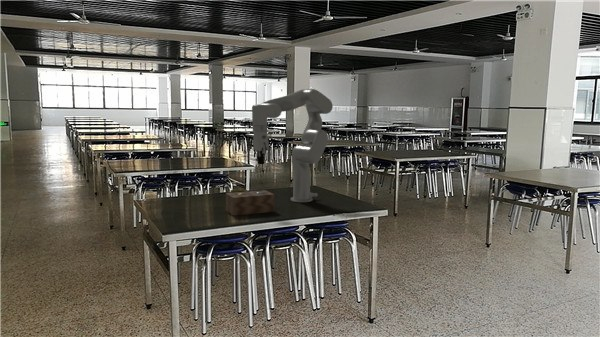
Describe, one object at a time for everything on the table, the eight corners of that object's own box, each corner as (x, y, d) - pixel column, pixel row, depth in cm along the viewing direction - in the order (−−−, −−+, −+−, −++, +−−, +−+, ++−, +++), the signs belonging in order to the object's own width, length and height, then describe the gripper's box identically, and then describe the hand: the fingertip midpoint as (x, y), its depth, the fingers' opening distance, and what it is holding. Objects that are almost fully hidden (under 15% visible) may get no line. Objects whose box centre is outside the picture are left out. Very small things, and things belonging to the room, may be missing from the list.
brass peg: (243, 208, 235) (243, 192, 234) (245, 209, 232) (245, 194, 231) (235, 208, 233) (235, 193, 232) (238, 210, 230) (238, 194, 229)
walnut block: (265, 206, 245) (265, 190, 244) (274, 211, 234) (274, 194, 233) (225, 210, 235) (225, 193, 234) (233, 215, 225) (232, 197, 224)
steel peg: (261, 206, 240) (261, 191, 238) (264, 208, 236) (264, 192, 235) (254, 207, 238) (254, 192, 237) (256, 208, 234) (256, 193, 233)
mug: (246, 203, 243) (242, 185, 245) (229, 208, 246) (225, 190, 247) (254, 203, 255) (250, 186, 257) (238, 207, 258) (234, 190, 259)
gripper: (272, 129, 229) (273, 165, 232) (261, 127, 242) (262, 161, 245) (258, 130, 226) (259, 166, 229) (247, 128, 239) (249, 162, 242)
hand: (261, 163), depth 237 cm, fingers closed
